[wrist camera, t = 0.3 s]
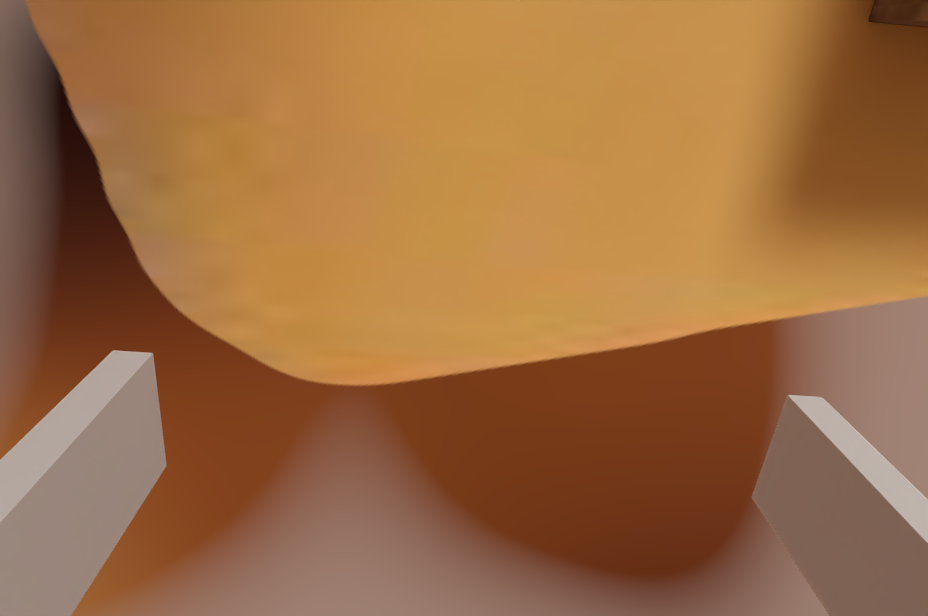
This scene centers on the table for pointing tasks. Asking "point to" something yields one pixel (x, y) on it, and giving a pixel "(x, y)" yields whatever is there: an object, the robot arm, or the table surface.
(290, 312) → the table surface
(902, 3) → the coin box
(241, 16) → the table surface
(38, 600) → the robot arm
